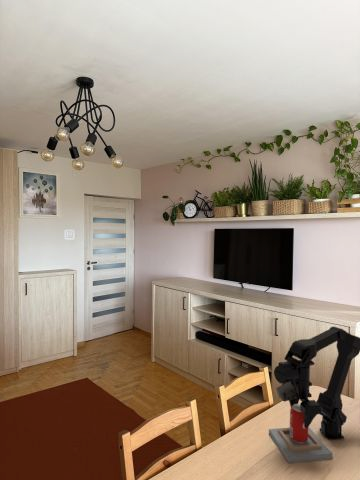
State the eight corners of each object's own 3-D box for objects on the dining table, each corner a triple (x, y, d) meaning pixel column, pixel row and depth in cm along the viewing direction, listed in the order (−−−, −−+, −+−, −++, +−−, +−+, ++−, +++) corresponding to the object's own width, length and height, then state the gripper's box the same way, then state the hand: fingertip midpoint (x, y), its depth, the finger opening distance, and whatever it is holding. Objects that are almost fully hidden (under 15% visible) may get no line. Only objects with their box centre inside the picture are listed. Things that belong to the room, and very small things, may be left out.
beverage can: (309, 446, 121) (310, 413, 120) (290, 443, 122) (291, 410, 121) (306, 435, 127) (307, 403, 127) (288, 433, 128) (289, 402, 128)
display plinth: (308, 431, 133) (308, 423, 133) (332, 458, 117) (332, 449, 117) (268, 434, 131) (269, 426, 131) (288, 462, 115) (288, 453, 115)
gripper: (269, 368, 131) (268, 408, 132) (292, 391, 113) (291, 437, 113) (296, 366, 133) (295, 406, 133) (323, 389, 114) (322, 435, 115)
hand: (299, 420), depth 124 cm, fingers open, 9 cm apart
